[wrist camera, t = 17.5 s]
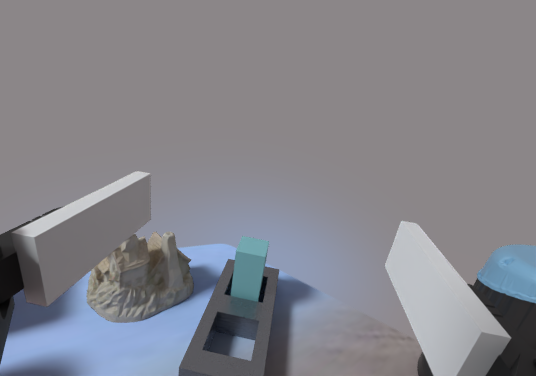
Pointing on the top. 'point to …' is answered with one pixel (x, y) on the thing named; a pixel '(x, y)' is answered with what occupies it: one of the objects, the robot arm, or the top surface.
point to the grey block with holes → (232, 329)
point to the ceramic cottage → (140, 279)
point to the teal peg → (249, 268)
